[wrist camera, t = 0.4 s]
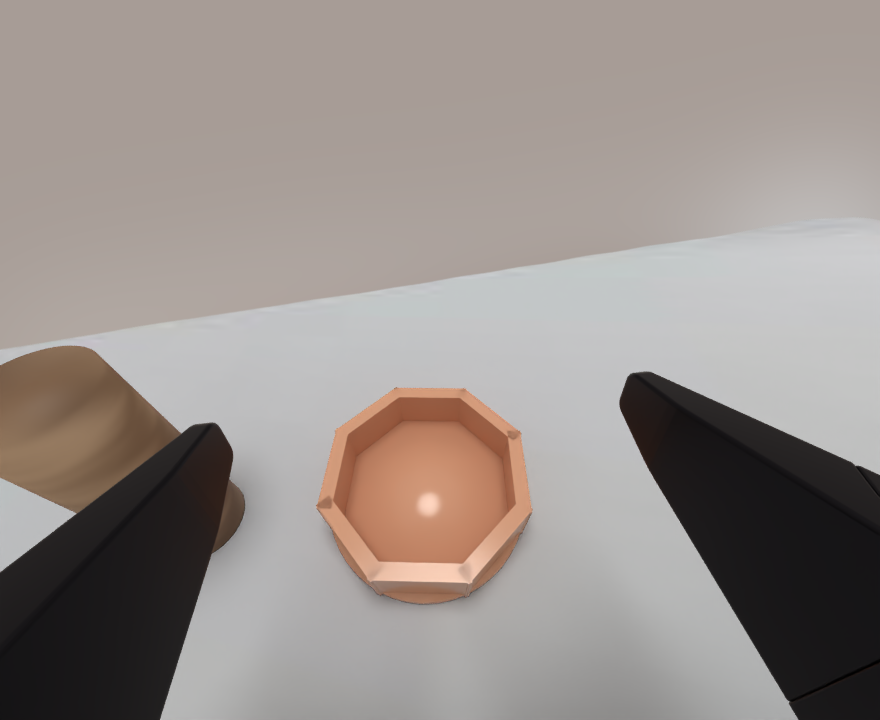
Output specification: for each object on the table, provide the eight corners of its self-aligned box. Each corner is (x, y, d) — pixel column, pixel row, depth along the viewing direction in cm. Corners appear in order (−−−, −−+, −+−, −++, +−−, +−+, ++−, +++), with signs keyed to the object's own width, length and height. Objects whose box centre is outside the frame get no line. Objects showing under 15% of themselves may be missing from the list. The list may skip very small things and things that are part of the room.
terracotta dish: (538, 607, 19) (552, 594, 16) (308, 601, 19) (287, 588, 17) (512, 413, 27) (518, 384, 25) (352, 411, 28) (342, 382, 25)
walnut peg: (225, 562, 21) (35, 455, 11) (144, 560, 21) (-112, 453, 11) (256, 482, 24) (129, 346, 14) (186, 481, 24) (14, 345, 14)
